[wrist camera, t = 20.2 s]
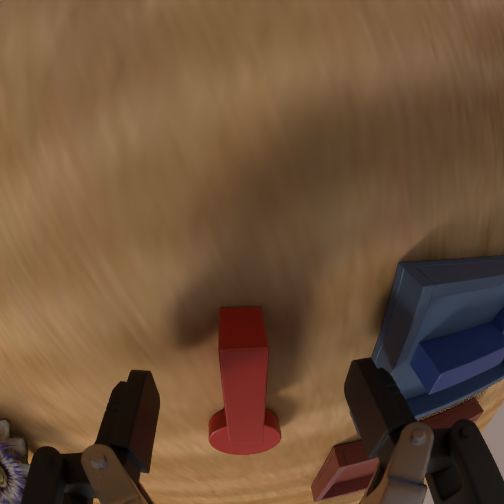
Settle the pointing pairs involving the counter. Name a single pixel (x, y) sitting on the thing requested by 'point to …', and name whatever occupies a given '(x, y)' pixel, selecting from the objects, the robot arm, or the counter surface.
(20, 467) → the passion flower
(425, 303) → the blue tray
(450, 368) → the blue spoon
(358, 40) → the counter surface
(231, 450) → the red spoon
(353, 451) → the red tray
